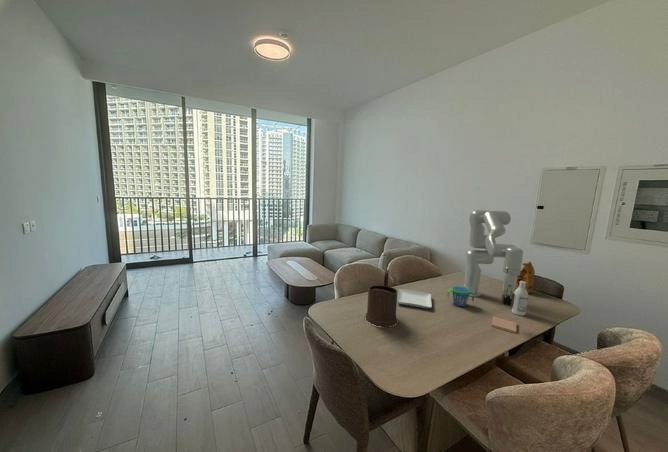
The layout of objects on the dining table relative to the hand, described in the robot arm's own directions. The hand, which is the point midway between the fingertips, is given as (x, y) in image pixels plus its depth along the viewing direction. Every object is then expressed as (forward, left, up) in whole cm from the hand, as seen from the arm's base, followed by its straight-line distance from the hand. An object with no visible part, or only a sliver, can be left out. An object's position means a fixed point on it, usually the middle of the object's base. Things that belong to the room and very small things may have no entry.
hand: (507, 302), depth 140 cm
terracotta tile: (0, 0, -13) cm, 13 cm away
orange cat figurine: (+9, +68, -14) cm, 70 cm away
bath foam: (+6, +23, -14) cm, 28 cm away
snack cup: (-25, +13, -14) cm, 31 cm away
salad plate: (-50, -1, -14) cm, 52 cm away
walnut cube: (0, 0, -1) cm, 1 cm away
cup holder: (-58, -33, -14) cm, 68 cm away
